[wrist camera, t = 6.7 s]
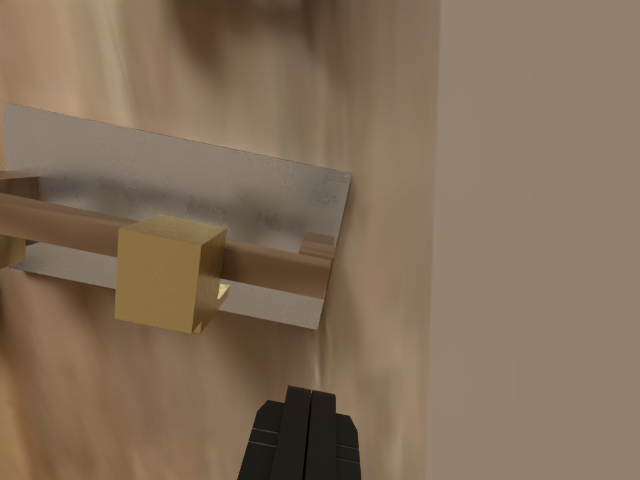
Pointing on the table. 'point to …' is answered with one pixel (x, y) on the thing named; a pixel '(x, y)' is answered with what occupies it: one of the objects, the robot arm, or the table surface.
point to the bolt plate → (173, 197)
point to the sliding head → (170, 273)
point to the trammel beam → (102, 230)
